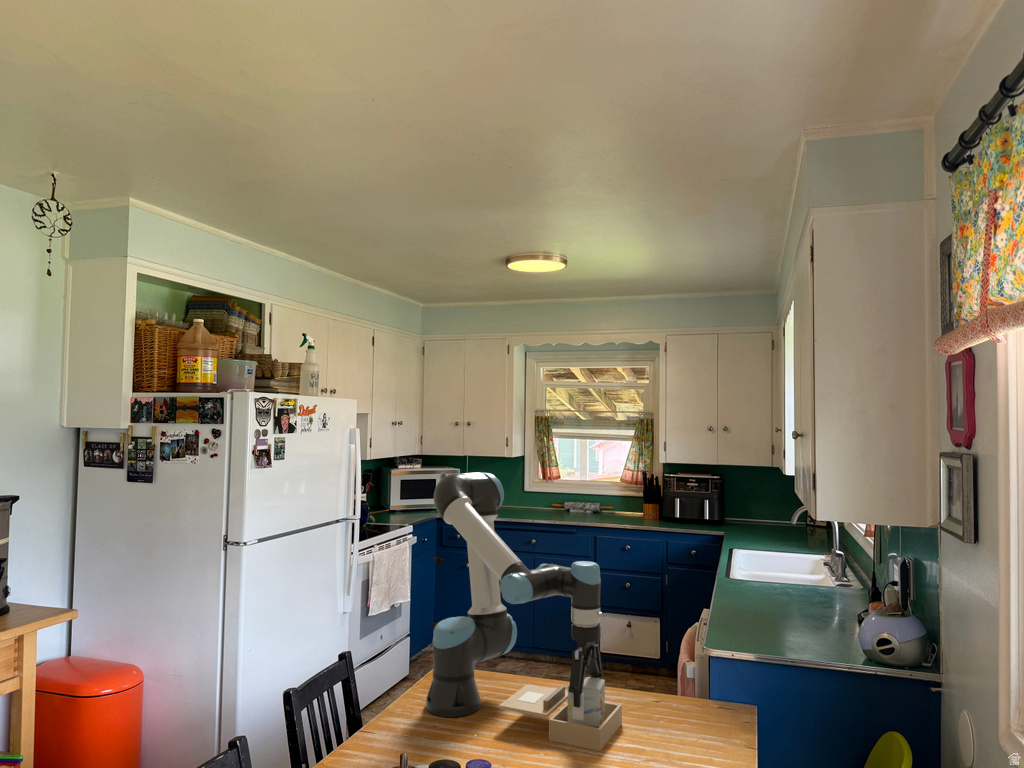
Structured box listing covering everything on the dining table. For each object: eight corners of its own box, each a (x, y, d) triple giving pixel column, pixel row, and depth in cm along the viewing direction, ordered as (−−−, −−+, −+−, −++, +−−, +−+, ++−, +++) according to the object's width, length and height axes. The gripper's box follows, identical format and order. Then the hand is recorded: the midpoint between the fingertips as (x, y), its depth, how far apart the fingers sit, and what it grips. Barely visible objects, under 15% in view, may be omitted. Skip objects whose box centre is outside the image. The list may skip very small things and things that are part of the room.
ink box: (600, 738, 173) (599, 689, 174) (566, 733, 175) (566, 685, 176) (605, 724, 181) (605, 677, 182) (573, 720, 183) (573, 674, 184)
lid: (499, 708, 179) (499, 696, 180) (527, 686, 195) (527, 675, 195) (546, 717, 173) (546, 705, 174) (572, 694, 189) (571, 683, 189)
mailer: (548, 740, 173) (548, 719, 173) (574, 715, 188) (574, 696, 189) (600, 751, 167) (600, 729, 167) (621, 724, 182) (621, 704, 183)
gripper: (583, 636, 168) (584, 731, 166) (613, 614, 189) (614, 698, 187) (555, 632, 171) (555, 725, 169) (587, 611, 192) (588, 693, 190)
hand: (586, 711), depth 178 cm, fingers open, 11 cm apart
